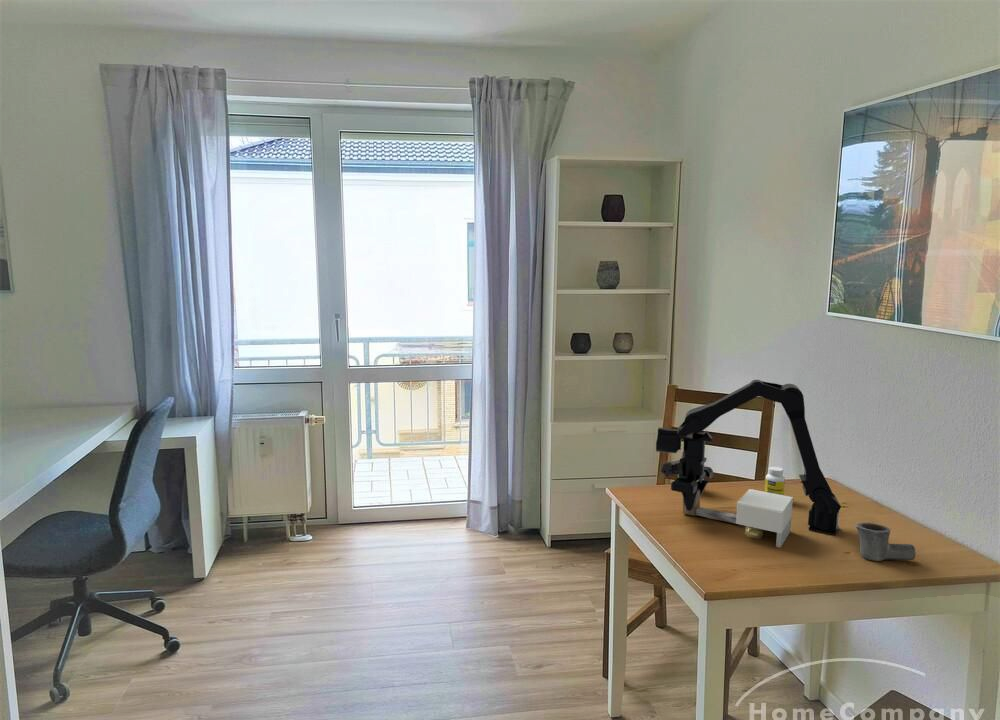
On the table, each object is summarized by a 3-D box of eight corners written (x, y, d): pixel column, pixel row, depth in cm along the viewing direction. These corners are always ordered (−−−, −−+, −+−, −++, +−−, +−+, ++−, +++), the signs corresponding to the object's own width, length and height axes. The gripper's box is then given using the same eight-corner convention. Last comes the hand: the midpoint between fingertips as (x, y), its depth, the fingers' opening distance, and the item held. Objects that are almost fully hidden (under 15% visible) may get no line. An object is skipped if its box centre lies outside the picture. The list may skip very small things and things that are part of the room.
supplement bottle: (764, 501, 197) (766, 469, 195) (764, 495, 202) (766, 464, 200) (783, 504, 195) (786, 472, 193) (783, 498, 200) (785, 467, 198)
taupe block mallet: (742, 520, 180) (744, 499, 180) (739, 525, 177) (740, 503, 176) (687, 508, 189) (688, 488, 188) (682, 513, 186) (683, 492, 185)
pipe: (917, 567, 154) (920, 534, 153) (857, 562, 157) (860, 530, 156) (907, 556, 160) (910, 524, 159) (849, 551, 163) (852, 520, 162)
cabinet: (790, 531, 174) (792, 497, 173) (779, 548, 164) (782, 511, 163) (747, 522, 180) (749, 488, 179) (734, 537, 170) (736, 502, 169)
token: (764, 534, 173) (764, 528, 173) (760, 540, 169) (760, 533, 169) (746, 530, 175) (747, 524, 175) (742, 536, 172) (743, 529, 171)
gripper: (677, 442, 196) (674, 493, 198) (653, 457, 181) (651, 512, 183) (714, 448, 190) (712, 500, 192) (693, 464, 175) (691, 520, 177)
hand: (691, 508), depth 186 cm, fingers closed on taupe block mallet, 4 cm apart
